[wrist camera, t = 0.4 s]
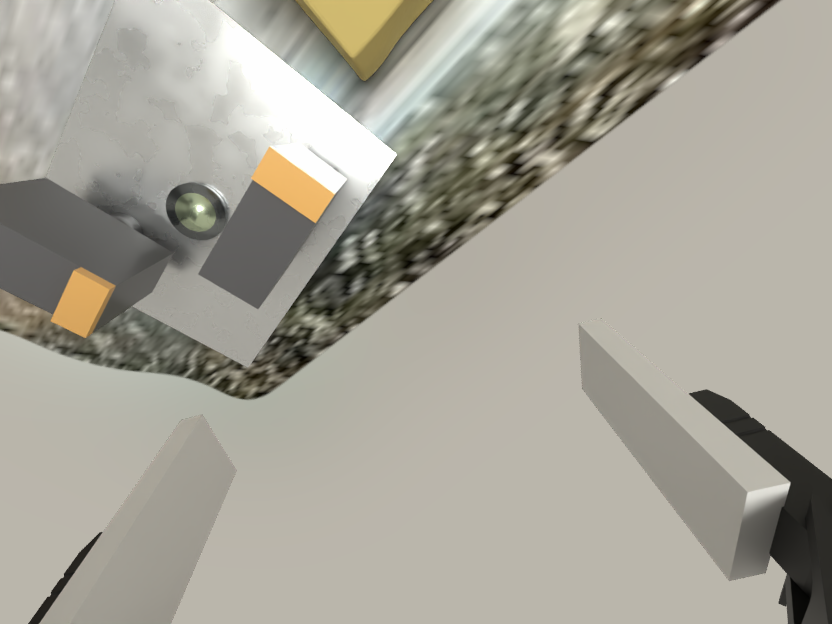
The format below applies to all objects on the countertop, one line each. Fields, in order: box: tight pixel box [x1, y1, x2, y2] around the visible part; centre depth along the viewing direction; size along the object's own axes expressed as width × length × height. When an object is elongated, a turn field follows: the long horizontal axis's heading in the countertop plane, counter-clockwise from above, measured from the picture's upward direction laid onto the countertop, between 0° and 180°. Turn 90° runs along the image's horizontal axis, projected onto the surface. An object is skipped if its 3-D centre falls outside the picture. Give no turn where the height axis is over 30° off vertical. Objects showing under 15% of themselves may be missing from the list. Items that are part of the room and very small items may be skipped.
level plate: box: [45, 0, 397, 367], centre depth 31 cm, size 20×24×3 cm
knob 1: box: [0, 178, 173, 338], centre depth 27 cm, size 9×4×10 cm, turn 52°
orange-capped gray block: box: [198, 143, 347, 309], centre depth 27 cm, size 9×4×10 cm, turn 142°
